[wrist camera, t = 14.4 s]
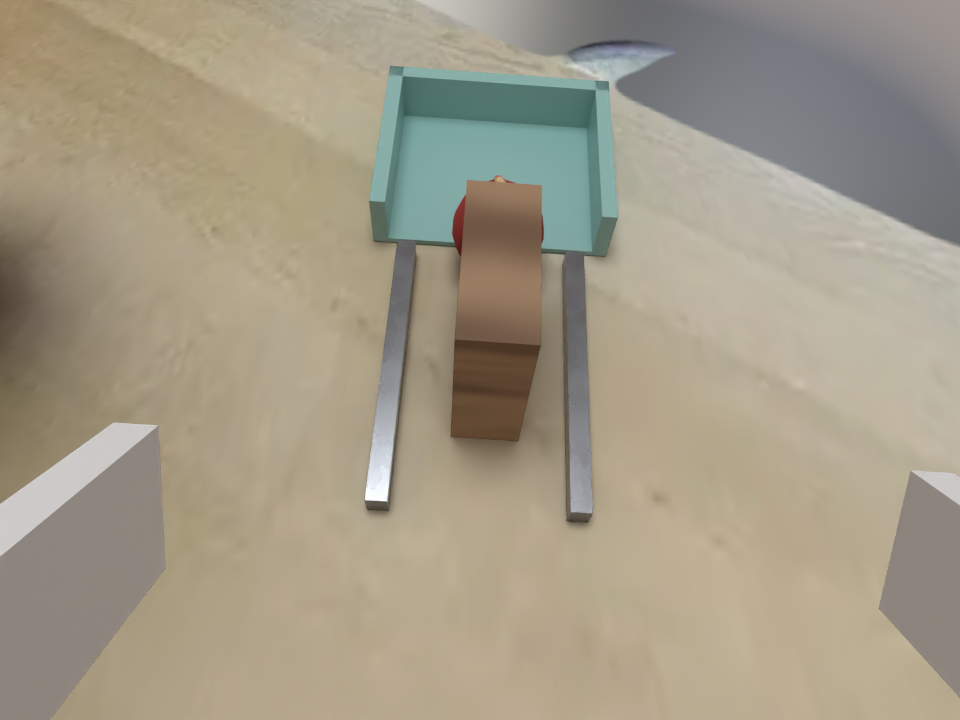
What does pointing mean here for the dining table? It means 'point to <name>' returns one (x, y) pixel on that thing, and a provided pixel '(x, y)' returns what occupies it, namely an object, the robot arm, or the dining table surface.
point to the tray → (494, 153)
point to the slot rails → (574, 385)
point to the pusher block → (497, 309)
